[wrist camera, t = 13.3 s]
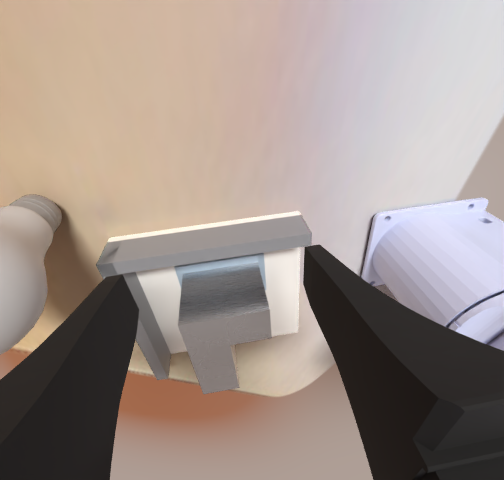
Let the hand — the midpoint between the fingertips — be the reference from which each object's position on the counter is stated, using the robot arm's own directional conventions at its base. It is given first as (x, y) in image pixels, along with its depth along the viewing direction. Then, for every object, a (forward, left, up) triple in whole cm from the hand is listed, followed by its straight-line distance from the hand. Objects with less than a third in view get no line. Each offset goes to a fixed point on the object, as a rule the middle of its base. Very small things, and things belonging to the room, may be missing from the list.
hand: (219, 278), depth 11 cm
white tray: (+1, +10, -9) cm, 14 cm away
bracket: (0, +11, -9) cm, 14 cm away
